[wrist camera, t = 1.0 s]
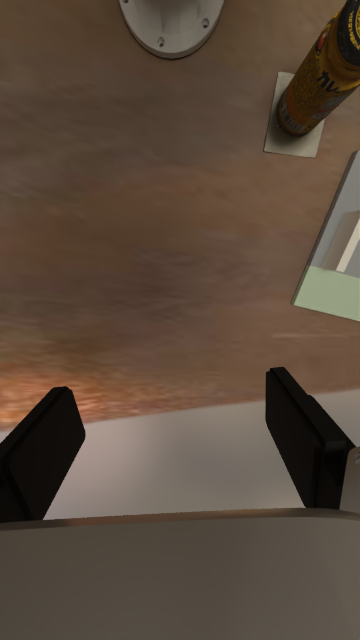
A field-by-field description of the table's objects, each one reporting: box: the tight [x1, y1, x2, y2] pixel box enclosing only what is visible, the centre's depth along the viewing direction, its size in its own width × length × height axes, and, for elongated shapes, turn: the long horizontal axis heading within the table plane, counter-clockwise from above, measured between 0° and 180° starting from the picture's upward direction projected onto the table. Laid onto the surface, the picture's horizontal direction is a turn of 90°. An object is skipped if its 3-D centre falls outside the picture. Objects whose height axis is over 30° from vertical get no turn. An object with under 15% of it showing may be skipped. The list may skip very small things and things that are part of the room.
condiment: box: [264, 0, 360, 158], centre depth 23 cm, size 7×8×12 cm
